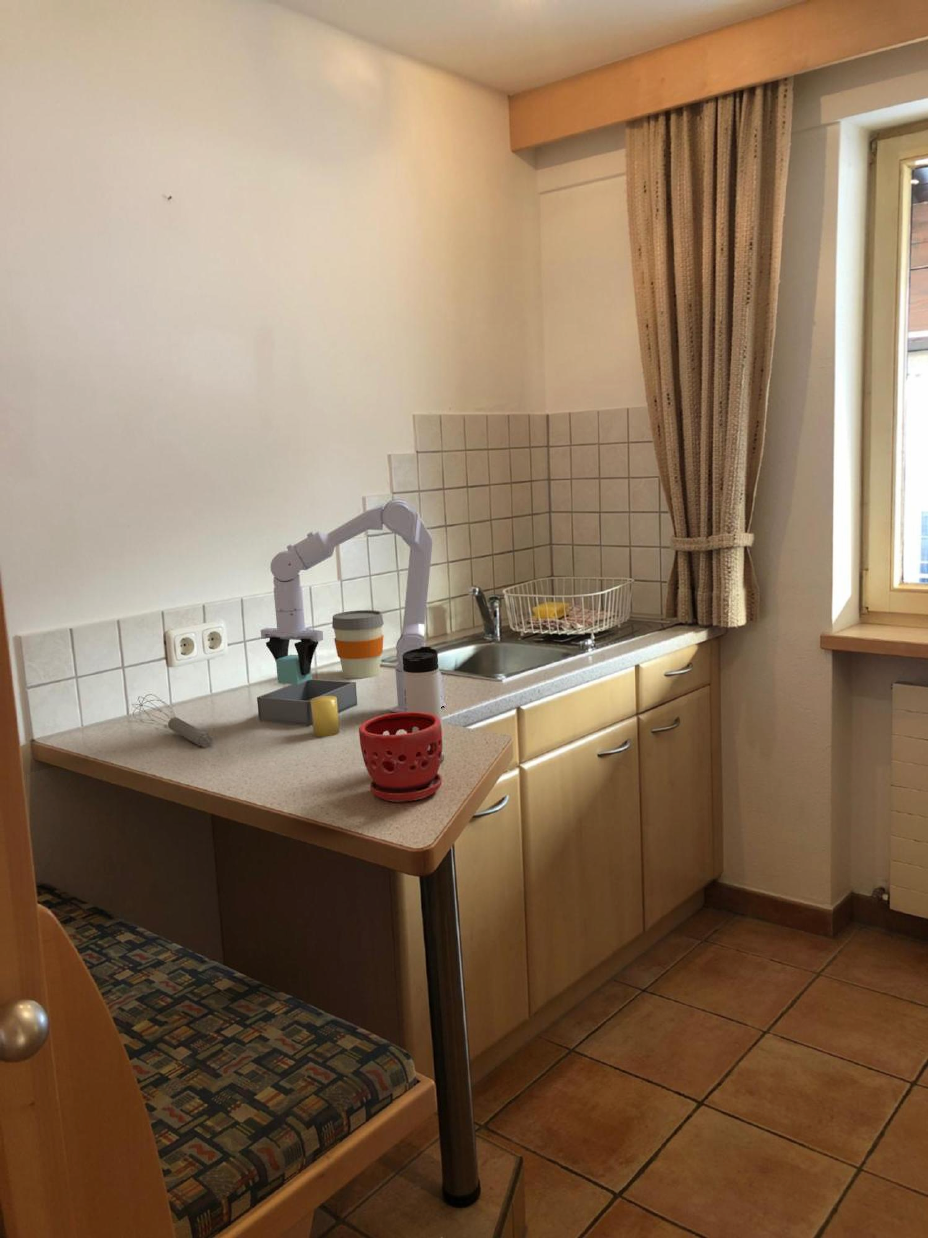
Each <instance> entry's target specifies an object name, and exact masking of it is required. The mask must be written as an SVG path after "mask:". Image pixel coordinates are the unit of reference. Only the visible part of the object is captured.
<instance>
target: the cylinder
mask: <svg viewBox="0 0 928 1238" xmlns="http://www.w3.org/2000/svg"><path fill="white" fill-rule="evenodd" d="M311 706H312V718H313V725H312V729H313V735H314V736H315V737H318V738H319V737H320V738H329V737H333V736H336V735H339V734H340V722H339V713H338V709H337V697H335V696H319V697H315V698H312V699H311Z"/></svg>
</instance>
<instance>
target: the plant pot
mask: <svg viewBox="0 0 928 1238" xmlns="http://www.w3.org/2000/svg"><path fill="white" fill-rule="evenodd" d="M413 727H417V728H418V729H419V731H417V732H413ZM401 730H402V731H405V732H406V733H403V734H402V733H401V734H397V733H398V731H401ZM442 730H443V728H442V729H441V722H440V719H439V718H438V717H437V716H435V715H433V714H429V713H424V712H391V713H386V714H383V715H378V716H375V717H372V718H370V719H368V720H366V721H364V722H363V723H362V724H360V726H359V727H358V736H359V744H360V750H361V753H362V758H363V762H364V766H365V769H366V771H367V772H368V775H369V776H370V779H371V782H370V784H369V789H370V791H371V792H372V793H373V795H375V796H376V797H377V798H379V799H381V800H384V801H387V802H388V801H389V802H395V803H396V802H397V803H398V802H399V803H400V802H402V803H403V802H412V801H413V800H414V801H417V800H418V801H420V800H419V799H425V798H427V797H429V796H431V795H433V794H434V793H436V792H438V790H439V789H440V788H441V785H442V782H443V778H442V776H441V775H440V774H439V769H440V766H441V763H442V762H441V758H442ZM385 732H388V734H384V733H385ZM407 733H408V734H407ZM429 745H430V750H429V749H428V747H429Z"/></svg>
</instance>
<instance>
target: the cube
mask: <svg viewBox="0 0 928 1238" xmlns="http://www.w3.org/2000/svg"><path fill="white" fill-rule="evenodd" d="M275 666H276V667H275V668H276V676H277V683H278V684H281V685H282V684H284V685H291V684H296V685H298V684H300V683H303V682H306V681H308V680H311V679H313V676H312V667H311V668H310V674H307V675H301V671H300V663H299V657H298V654H288V656H285V657H282V658H279V659H277V660H276V661H275Z"/></svg>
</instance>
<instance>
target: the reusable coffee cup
mask: <svg viewBox="0 0 928 1238" xmlns="http://www.w3.org/2000/svg"><path fill="white" fill-rule="evenodd" d="M331 625H332V627H331V628H332V629H333V631H334V635H335V636H334V637H335V638H334V640H333V641H334V644H335V650H336V653H337V657H338V658H339V661H340V665H341V670H342V675H343V677H344V678H346V679H355V680H356V679H367V678H373V677H376V676H378V675H380V673H381V671H380V670H381V655H382V654H383V651H384V650H383V649H384V635H383V625H384V617H383V612H382V611H380V610H369V609H368V610H367V609H366V610H365V609H363V610H361V609H360V610H348V611H344V612H343V611H342V612H338V613H336V614H333V615H332V624H331Z"/></svg>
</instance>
